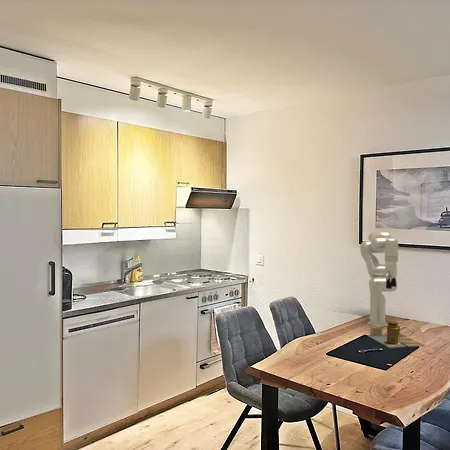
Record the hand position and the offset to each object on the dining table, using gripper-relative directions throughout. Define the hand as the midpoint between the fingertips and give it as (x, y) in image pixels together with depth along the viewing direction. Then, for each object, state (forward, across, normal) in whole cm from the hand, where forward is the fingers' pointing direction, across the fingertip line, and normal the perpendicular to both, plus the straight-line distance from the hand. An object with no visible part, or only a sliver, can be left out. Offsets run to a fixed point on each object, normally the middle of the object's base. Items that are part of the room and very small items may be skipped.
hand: (391, 287), depth 267 cm
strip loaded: (+30, +12, 0) cm, 32 cm away
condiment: (+30, +16, +5) cm, 34 cm away
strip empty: (+30, +4, +9) cm, 31 cm away
